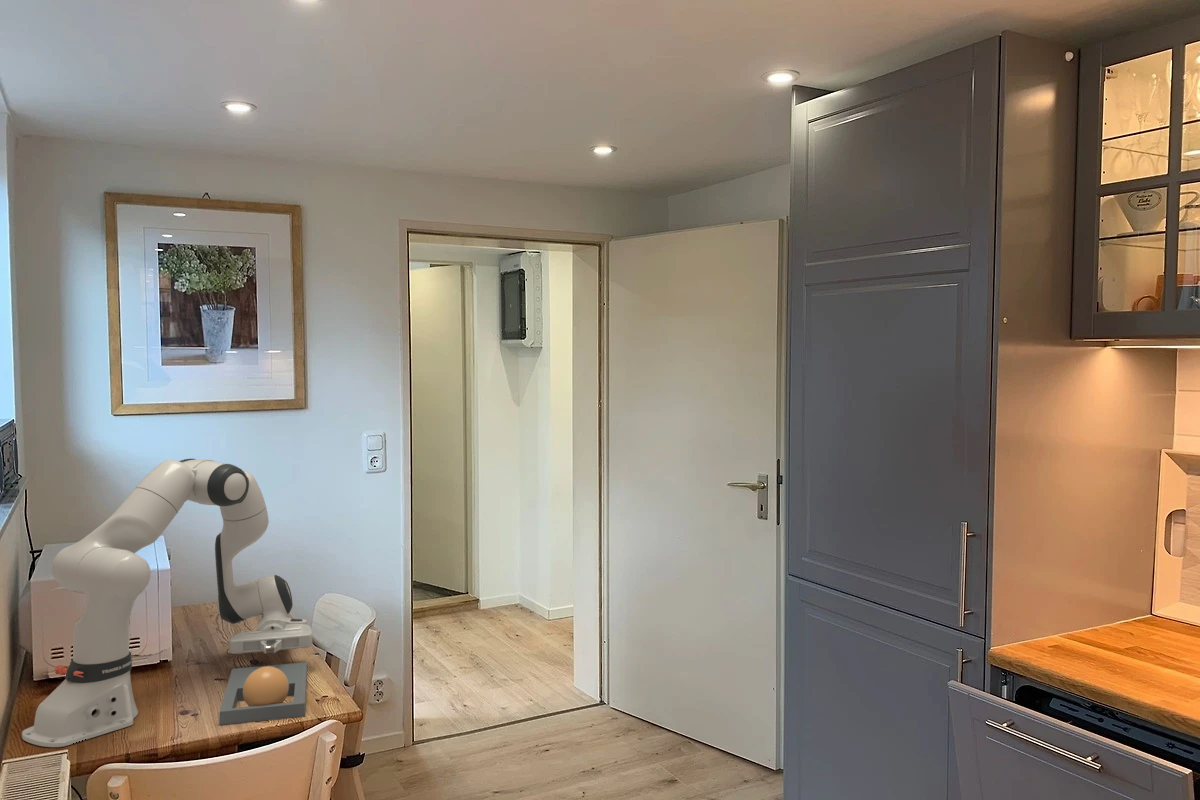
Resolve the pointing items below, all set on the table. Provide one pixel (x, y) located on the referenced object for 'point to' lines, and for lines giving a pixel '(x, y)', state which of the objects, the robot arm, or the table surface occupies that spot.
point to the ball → (265, 687)
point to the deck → (297, 687)
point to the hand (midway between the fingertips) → (270, 650)
